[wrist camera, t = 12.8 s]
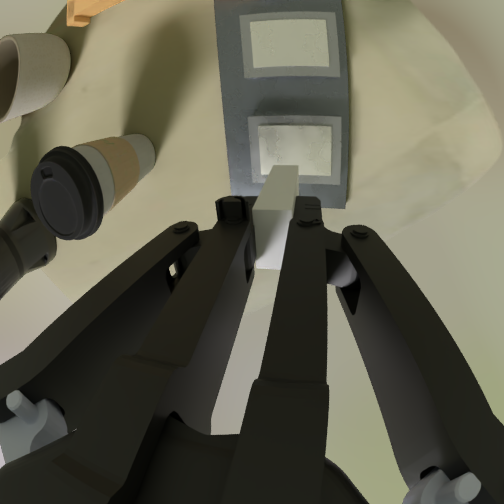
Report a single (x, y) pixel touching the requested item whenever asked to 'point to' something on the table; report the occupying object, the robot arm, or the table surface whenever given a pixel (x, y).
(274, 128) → the grey switch panel
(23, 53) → the planter
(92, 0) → the swing arm
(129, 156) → the coffee cup
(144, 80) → the table surface
